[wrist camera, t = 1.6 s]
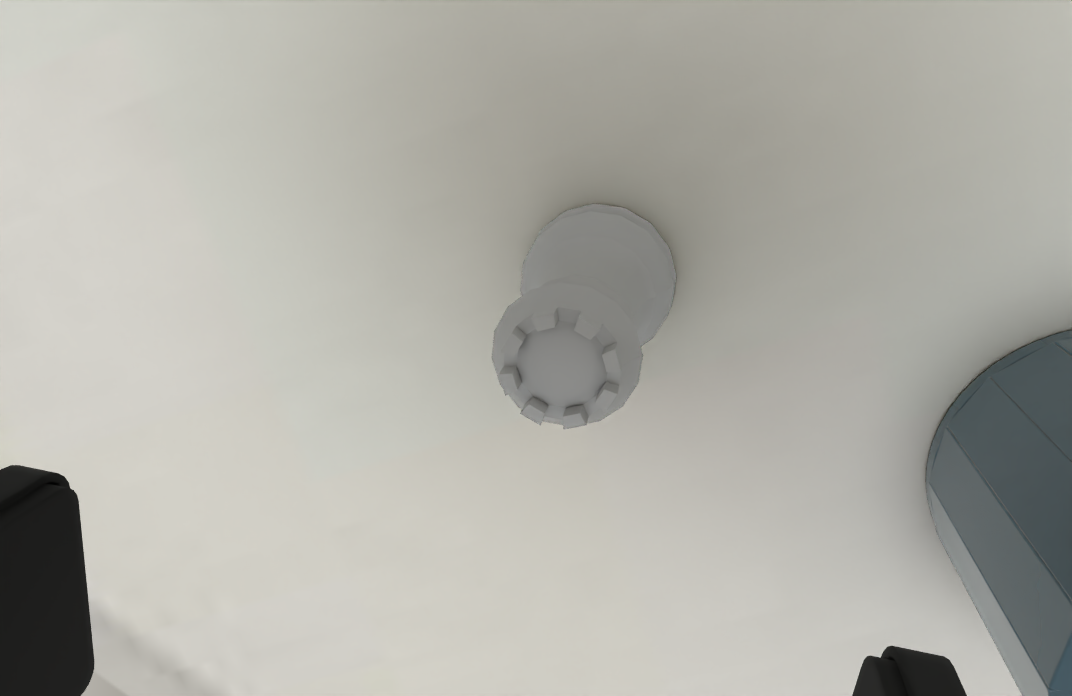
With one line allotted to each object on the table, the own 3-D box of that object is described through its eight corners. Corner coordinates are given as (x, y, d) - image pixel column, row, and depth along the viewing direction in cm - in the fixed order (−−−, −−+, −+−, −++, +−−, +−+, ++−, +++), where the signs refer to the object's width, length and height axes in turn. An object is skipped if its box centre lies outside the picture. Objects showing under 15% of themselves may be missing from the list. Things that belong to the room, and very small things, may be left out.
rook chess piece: (674, 196, 22) (665, 259, 15) (679, 345, 24) (673, 471, 16) (520, 205, 23) (439, 270, 16) (533, 348, 25) (465, 470, 17)
